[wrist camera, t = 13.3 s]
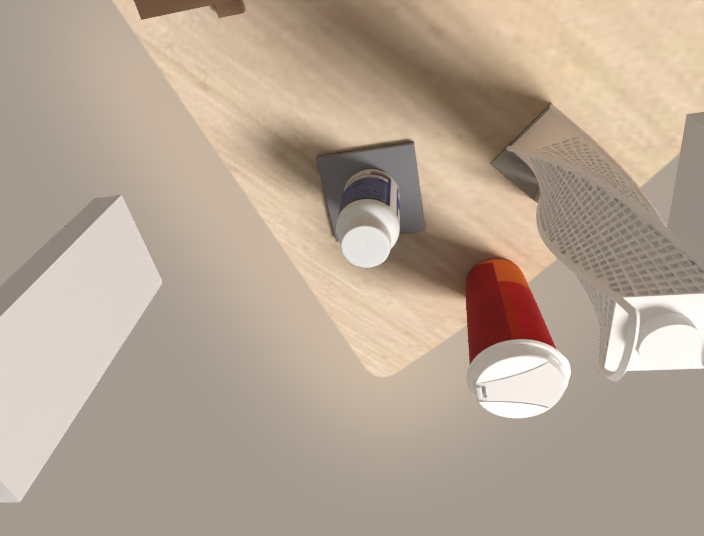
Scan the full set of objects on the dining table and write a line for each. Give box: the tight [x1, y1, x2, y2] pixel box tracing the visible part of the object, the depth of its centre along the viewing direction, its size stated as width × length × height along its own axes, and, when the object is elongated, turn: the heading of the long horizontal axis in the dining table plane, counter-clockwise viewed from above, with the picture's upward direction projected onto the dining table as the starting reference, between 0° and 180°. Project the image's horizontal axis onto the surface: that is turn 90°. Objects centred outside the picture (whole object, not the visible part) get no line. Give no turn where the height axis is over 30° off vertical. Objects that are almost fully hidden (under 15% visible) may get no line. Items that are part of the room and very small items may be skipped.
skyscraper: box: [491, 104, 704, 381], centre depth 35 cm, size 8×8×28 cm
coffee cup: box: [466, 259, 571, 418], centre depth 49 cm, size 8×8×15 cm
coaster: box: [317, 142, 425, 242], centre depth 50 cm, size 9×9×1 cm
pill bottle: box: [336, 169, 400, 268], centre depth 46 cm, size 5×5×10 cm
